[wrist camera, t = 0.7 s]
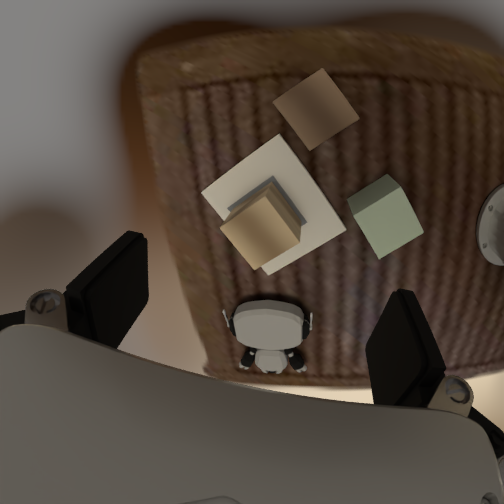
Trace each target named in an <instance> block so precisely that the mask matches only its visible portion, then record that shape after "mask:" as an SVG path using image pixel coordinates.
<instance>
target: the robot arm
mask: <svg viewBox="0 0 504 504" xmlns="http://www.w3.org/2000/svg"><path fill="white" fill-rule="evenodd" d="M476 236H477V243H478V247H479V249H480V251H481V253H482V254H483V256H484V257H485V258H486V259H487V260H488V261H489V262H491V263H492V264H494V265H499V266H504V184H502V185H500V186H499V187H497V188H496V189H495V190H494V191H493V192H492V193H491V194H490V195H489V196H488V198H487V199H486V201H485V202H484V204H483V206H482V208H481V211H480V214H479V217H478V222H477V229H476ZM66 289H67V290H66V291H65V292H64V293H63V294H62V293H61V292H59V291H57V290H54V289H44V290H41V291H38V292H36V293H34V294H33V295H32V296H31V297H30V298H29V299H28V300H27V303H26V308H25V310H22V311H18V312H13V313H9V314H4V315H0V504H504V433H503V431H502V430H501V429H500V428H498V427H497V426H496V425H495V424H493V423H492V422H491V421H490V420H488V419H487V418H486V417H485V416H483V415H482V414H481V413H480V412H478V411H477V410H476V409H475V408H473V407H472V403H473V399H474V395H473V391H472V389H471V387H470V386H469V384H468V383H467V382H466V381H465V380H464V379H462V378H460V377H459V376H455V375H448V376H445V374H444V371H445V369H446V366H445V363H444V361H443V358H442V355H441V353H440V350H439V348H438V346H437V343H436V341H435V338H434V336H433V334H432V331H431V329H430V327H429V324H428V322H427V320H426V318H425V315H424V313H423V311H422V309H421V307H420V305H419V303H418V300H417V298H416V296H415V294H414V292H413V291H410V290H405V289H398V290H397V291H394V292H392V294H391V296H390V298H389V300H388V302H387V304H386V306H385V308H384V310H383V313H382V315H381V317H380V319H379V321H378V323H377V324H376V326H375V328H374V330H373V332H372V334H371V336H370V338H369V340H368V342H367V344H366V349H365V351H366V357H367V363H368V369H369V375H370V381H371V388H372V395H373V402H374V404H367V403H366V404H365V403H356V402H345V401H337V400H329V399H321V398H314V397H307V396H301V395H295V394H289V393H283V392H277V391H272V390H267V389H261V388H256V387H252V386H247V385H242V384H238V383H233V382H229V381H224V380H220V379H216V378H212V377H208V376H204V375H200V374H196V373H193V372H189V371H185V370H181V369H178V368H175V367H171V366H167V365H164V364H161V363H158V362H154V361H151V360H148V359H145V358H142V357H139V356H136V355H133V354H130V353H127V352H124V351H121V350H118V349H117V348H118V346H119V345H120V343H121V342H122V340H123V338H124V337H125V335H126V334H127V332H128V331H129V329H130V328H131V326H132V325H133V323H134V322H135V320H136V319H137V317H138V316H139V314H140V313H141V312H142V310H143V309H144V307H145V306H146V304H147V302H148V297H149V290H148V251H147V239H146V238H144V236H143V234H142V233H138V232H134V231H127V232H126V233H124V234H123V235H122V236H121V237H120V238H119V239H117V240H116V241H115V242H114V243H113V244H112V245H111V246H110V247H109V248H107V249H106V250H105V251H104V252H103V253H102V254H100V256H98V257H97V258H96V259H95V260H94V261H93V262H92V263H91V264H90V265H88V266H87V267H86V268H85V269H84V270H83V271H82V272H81V273H80V274H79V275H78V276H77V277H76V278H75V279H74V280H73V281H72V282H70V283H69V284H68V285H67V286H66Z"/></svg>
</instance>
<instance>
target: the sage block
mask: <svg viewBox="0 0 504 504" xmlns="http://www.w3.org/2000/svg"><path fill="white" fill-rule="evenodd" d="M347 201H348V204H349V206H350V209H351V212H352V214H353V217H354V218H355V220H356V221H357V223H358V225H359V226H360V228H361V229H362V231H363V233H364V234H365V236H366V238H367V239H368V241H369V243H370V244H371V246H372V248H373V250H374V251H375V253H376V255H377V256H378V258H379V259H380V258H382V257H384V256H385V255H387V254H389V253H390V252H392V251H394V250H396V249H397V248H399V247H401V246H402V245H404V244H406V243H407V242H409V241H411V240H412V239H414V238H416V237H417V236H419V235H420V234H422V233H424V232H423V230H422V227H421V225H420V223H419V221H418V219H417V217H416V215H415V213H414V211H413V209H412V207H411V205H410V203H409V201H408V199H407V197H406V195H405V193H404V192H403V190H402V188H401V186H400V185H399V184H398V183H397V182H395V181H394V180H393V179H392V178H391V177H390V176H389V175H388V174H386V175H384V176H383V177H381V178H380V179H378V180H376V181H375V182H373V183H372V184H370V185H368V186H367V187H365V188H364V189H362V190H360V191H359V192H357V193H356V194H354V195H352V196H351V197H349V198H348V199H347Z"/></svg>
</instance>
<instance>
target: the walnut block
mask: <svg viewBox="0 0 504 504" xmlns="http://www.w3.org/2000/svg"><path fill="white" fill-rule="evenodd" d="M273 104H274V105H275V106H276V107H277V109H278V110H279V111H280V112H281V114H282V115H283V116H284V118H285V119H286V120H287V121H288V123H289V124H290V125H291V127H292V128H293V129H294V131H295V132H296V133H297V135H298V136H299V137H300V139H301V140H302V141H303V143H304V144H305V145H306V147H307V148H308V150H309V151H311V150H312V149H314V148H315V147H317V146H318V145H320V144H321V143H323V142H324V141H326V140H327V139H329V138H330V137H332V136H333V135H335V134H336V133H338V132H340V131H341V130H343V129H344V128H346V127H347V126H349V125H350V124H352V123H354V122H355V121H357V120H358V119H360V118H359V117H358V115H357V114H356V112H355V111H354V109H353V108H352V107H351V105H350V104H349V102H348V101H347V100H346V98H345V97H344V95H343V94H342V93H341V91H340V90H339V89H338V87H337V86H336V85H335V83H334V82H333V81H332V79H331V78H330V77H329V75H328V74H327V73H326V72H325V70H324V69H323V68H322V69H320V70H319V71H317V72H315V73H314V74H312V75H311V76H309V77H308V78H306V79H305V80H303V81H302V82H300V83H299V84H297V85H296V86H294V87H293V88H291V89H290V90H288V91H287V92H286V93H284V94H283V95H281V96H280V97H278V98H277V99H276V100H274V101H273Z"/></svg>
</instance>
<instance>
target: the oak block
mask: <svg viewBox="0 0 504 504" xmlns="http://www.w3.org/2000/svg"><path fill="white" fill-rule="evenodd" d="M220 229H221V230H222V231H223V233H224V234H225V235H226V236H227V238H228V239H229V240H230V241H231V242H232V244H233V245H234V246H235V247H236V248H237V250H238V251H239V252H240V253H241V255H242V256H243V257H244V258H245V259H246V261H247V262H248V263H249V264H250V265H251V267H252V268H253V269H254V270H255V269H257V268H259V267H260V266H262V265H264V264H265V263H267V262H269V261H270V260H272V259H274V258H275V257H277V256H279V255H280V254H282V253H284V252H285V251H287V250H289V249H290V248H292V247H294V246H295V245H297V244H299V243H300V236H301V220H300V219H299V217H298V216H297V215H296V213H295V212H294V211H293V209H292V208H291V207H290V205H289V204H288V202H287V201H286V200H285V198H284V197H283V196H282V194H281V193H280V192H279V190H278V189H277V188H276V186H275V185H274V184H273V182H270V183H269V184H268V185H266V186H265V187H263V188H262V189H260V190H259V191H258V192H256V193H255V194H253V195H252V196H250V197H249V198H248V199H246V200H245V201H243V202H242V203H241V204H239V205H238V206H236V207H235V208H234V209H232V211H231V212H230V214H229V215H228V216H227V218H226V219H225V221H224V222H223V224H222V225H221V227H220Z"/></svg>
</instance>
